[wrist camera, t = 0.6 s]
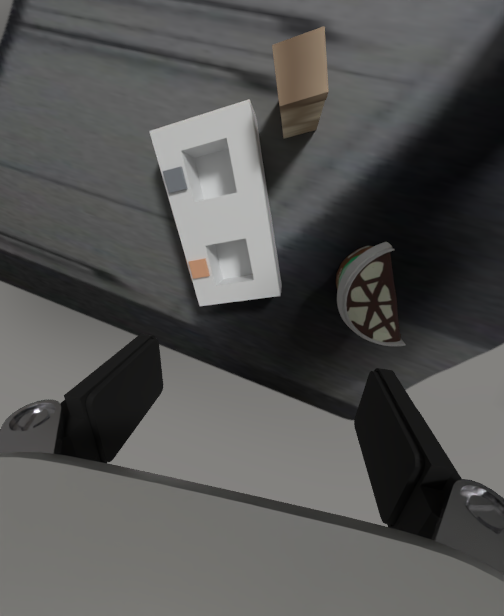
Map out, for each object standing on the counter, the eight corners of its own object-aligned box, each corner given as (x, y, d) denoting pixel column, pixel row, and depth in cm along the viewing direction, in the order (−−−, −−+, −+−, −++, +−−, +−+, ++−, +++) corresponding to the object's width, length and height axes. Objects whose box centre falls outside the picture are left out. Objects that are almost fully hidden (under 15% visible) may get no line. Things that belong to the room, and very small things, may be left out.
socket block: (256, 117, 29) (249, 97, 24) (281, 285, 37) (280, 296, 32) (168, 143, 32) (145, 130, 27) (208, 295, 39) (196, 307, 34)
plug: (313, 88, 27) (324, 26, 18) (316, 130, 29) (328, 91, 20) (278, 99, 28) (272, 45, 19) (283, 139, 30) (279, 106, 20)
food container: (319, 248, 34) (330, 261, 25) (364, 234, 32) (394, 243, 23) (335, 323, 38) (350, 358, 28) (377, 314, 36) (406, 349, 27)
